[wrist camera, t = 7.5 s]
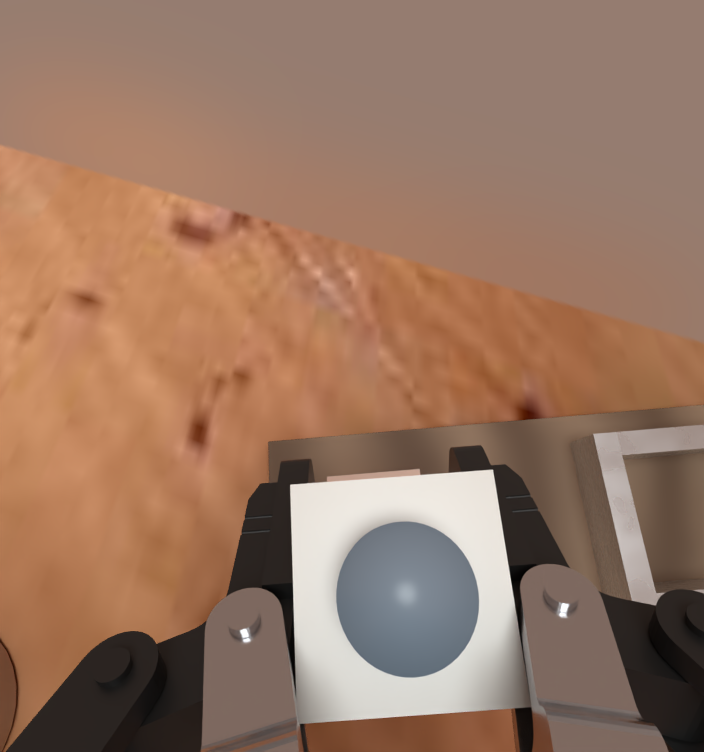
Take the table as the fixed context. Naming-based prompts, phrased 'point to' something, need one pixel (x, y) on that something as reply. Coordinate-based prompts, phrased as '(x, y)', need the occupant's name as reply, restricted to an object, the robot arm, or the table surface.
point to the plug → (403, 599)
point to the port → (626, 506)
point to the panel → (546, 476)
